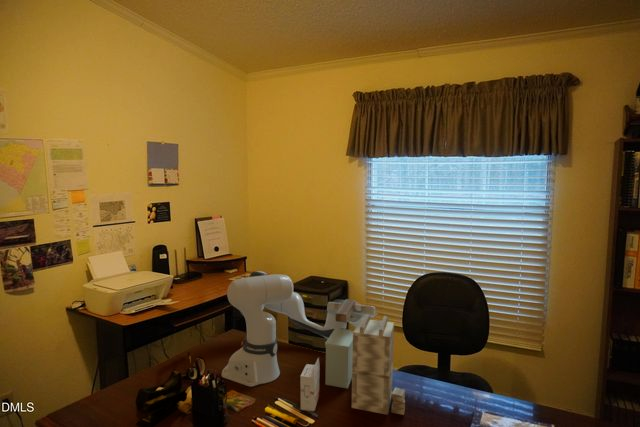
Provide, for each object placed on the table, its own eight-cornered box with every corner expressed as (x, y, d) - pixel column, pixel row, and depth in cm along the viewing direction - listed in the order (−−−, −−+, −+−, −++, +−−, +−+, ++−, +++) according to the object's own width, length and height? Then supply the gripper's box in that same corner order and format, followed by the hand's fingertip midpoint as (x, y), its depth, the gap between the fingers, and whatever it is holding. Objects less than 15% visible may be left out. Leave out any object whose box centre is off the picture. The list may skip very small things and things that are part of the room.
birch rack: (351, 407, 121) (353, 326, 119) (358, 387, 134) (360, 313, 131) (387, 414, 118) (390, 331, 116) (391, 392, 130) (394, 316, 128)
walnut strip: (335, 321, 135) (335, 313, 135) (345, 306, 152) (346, 299, 152) (346, 322, 134) (346, 314, 134) (355, 306, 151) (355, 299, 151)
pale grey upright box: (324, 384, 135) (325, 343, 134) (334, 365, 149) (335, 327, 148) (348, 389, 132) (348, 346, 131) (356, 369, 147) (357, 330, 145)
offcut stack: (391, 412, 119) (391, 395, 118) (392, 403, 124) (393, 386, 123) (404, 415, 118) (405, 397, 117) (405, 406, 123) (406, 389, 122)
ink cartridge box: (305, 395, 128) (306, 355, 127) (319, 397, 127) (320, 356, 126) (299, 410, 120) (299, 367, 119) (314, 412, 119) (314, 368, 118)
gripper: (376, 322, 155) (373, 316, 143) (330, 317, 160) (323, 310, 148) (378, 307, 157) (374, 300, 145) (332, 302, 163) (325, 295, 151)
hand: (348, 305), depth 147 cm, fingers closed on walnut strip, 4 cm apart
